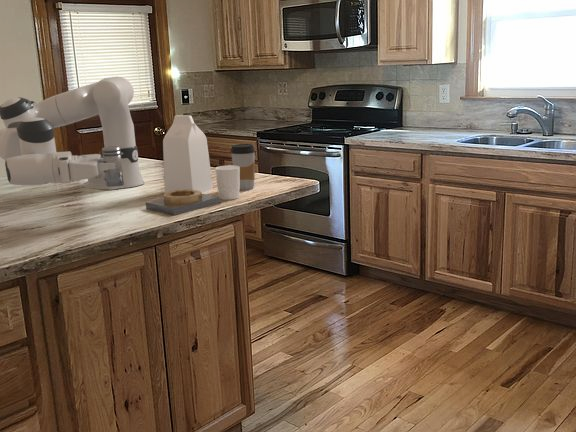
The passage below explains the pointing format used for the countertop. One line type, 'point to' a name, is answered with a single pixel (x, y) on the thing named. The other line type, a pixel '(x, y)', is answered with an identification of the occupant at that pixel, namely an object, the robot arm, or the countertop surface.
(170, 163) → the milk
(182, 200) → the ring block
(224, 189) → the white cup
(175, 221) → the countertop surface
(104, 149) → the salt shaker
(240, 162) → the coffee cup
